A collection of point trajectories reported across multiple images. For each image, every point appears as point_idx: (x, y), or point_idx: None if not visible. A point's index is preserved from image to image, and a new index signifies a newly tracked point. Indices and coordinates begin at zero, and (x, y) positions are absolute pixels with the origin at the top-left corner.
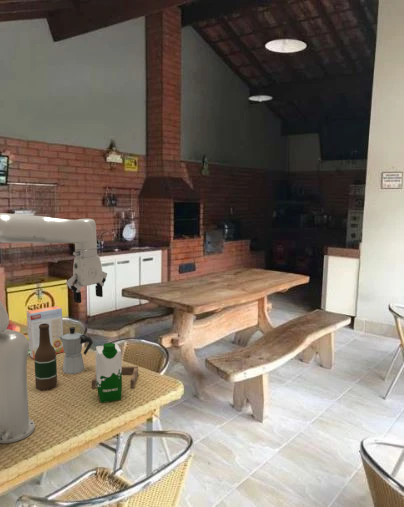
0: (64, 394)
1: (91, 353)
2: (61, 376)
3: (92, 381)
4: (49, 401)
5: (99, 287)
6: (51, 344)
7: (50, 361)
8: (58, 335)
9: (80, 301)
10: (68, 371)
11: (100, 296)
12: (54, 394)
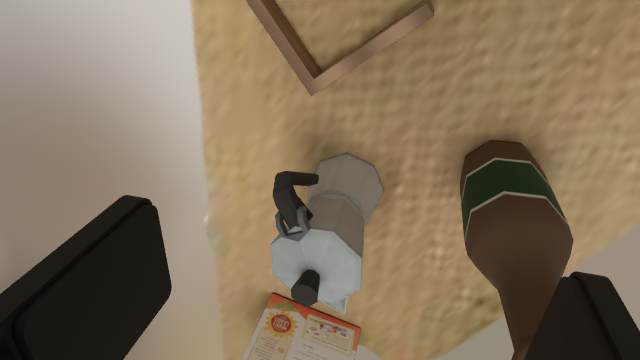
0: (527, 68)
1: (224, 223)
2: (407, 185)
3: (431, 13)
4: (606, 71)
5: (40, 343)
6: (298, 333)
7: (531, 195)
8: (266, 344)
9: (604, 286)
10: (377, 184)
11: (154, 214)
12: (543, 101)
